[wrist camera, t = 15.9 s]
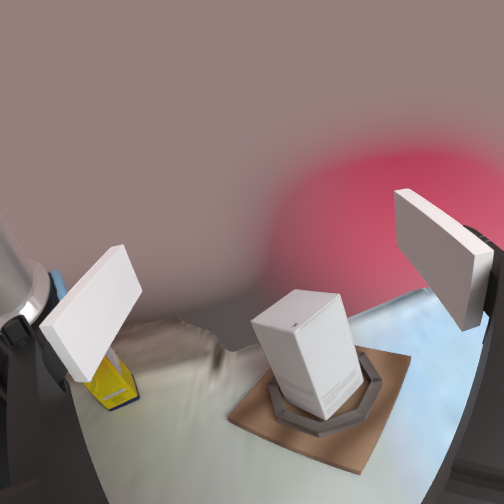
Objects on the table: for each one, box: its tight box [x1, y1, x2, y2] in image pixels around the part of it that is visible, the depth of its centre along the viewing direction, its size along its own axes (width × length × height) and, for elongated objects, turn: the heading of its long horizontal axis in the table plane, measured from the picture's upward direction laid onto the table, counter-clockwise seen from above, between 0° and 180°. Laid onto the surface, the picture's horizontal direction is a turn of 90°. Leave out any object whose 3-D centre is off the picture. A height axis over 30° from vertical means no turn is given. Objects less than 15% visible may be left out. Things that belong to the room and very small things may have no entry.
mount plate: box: [228, 345, 411, 475], centre depth 36 cm, size 18×18×3 cm
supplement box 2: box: [251, 289, 364, 420], centre depth 33 cm, size 7×7×13 cm
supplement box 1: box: [82, 346, 140, 411], centre depth 41 cm, size 6×6×11 cm
